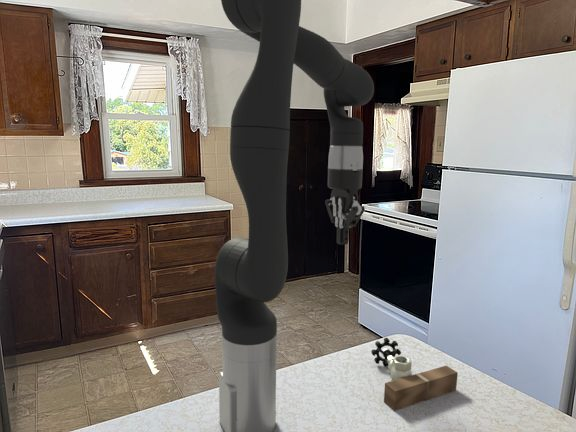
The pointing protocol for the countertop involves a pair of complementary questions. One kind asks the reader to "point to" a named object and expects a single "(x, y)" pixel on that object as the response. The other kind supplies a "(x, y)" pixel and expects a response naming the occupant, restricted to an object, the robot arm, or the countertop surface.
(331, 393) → the countertop surface
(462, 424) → the countertop surface
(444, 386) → the bar
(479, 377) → the countertop surface
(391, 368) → the valve
